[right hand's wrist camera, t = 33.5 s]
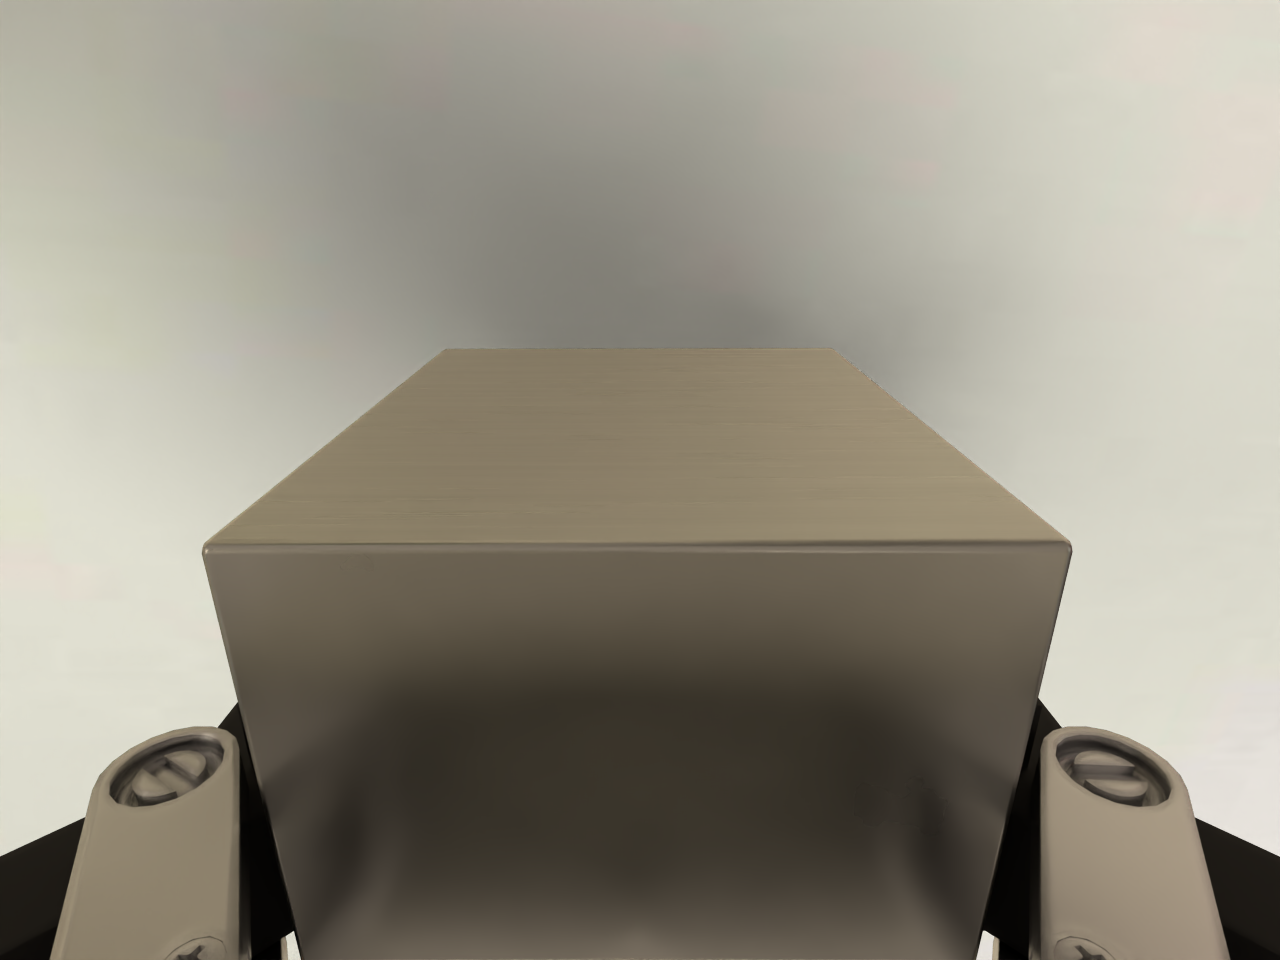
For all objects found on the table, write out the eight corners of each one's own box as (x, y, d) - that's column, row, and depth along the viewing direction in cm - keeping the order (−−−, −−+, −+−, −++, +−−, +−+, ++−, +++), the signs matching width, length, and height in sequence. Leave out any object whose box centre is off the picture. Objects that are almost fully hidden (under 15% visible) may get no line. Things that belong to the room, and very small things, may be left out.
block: (480, 725, 16) (348, 1168, 9) (442, 347, 13) (194, 546, 6) (798, 724, 16) (930, 1167, 9) (834, 347, 13) (1079, 543, 6)
